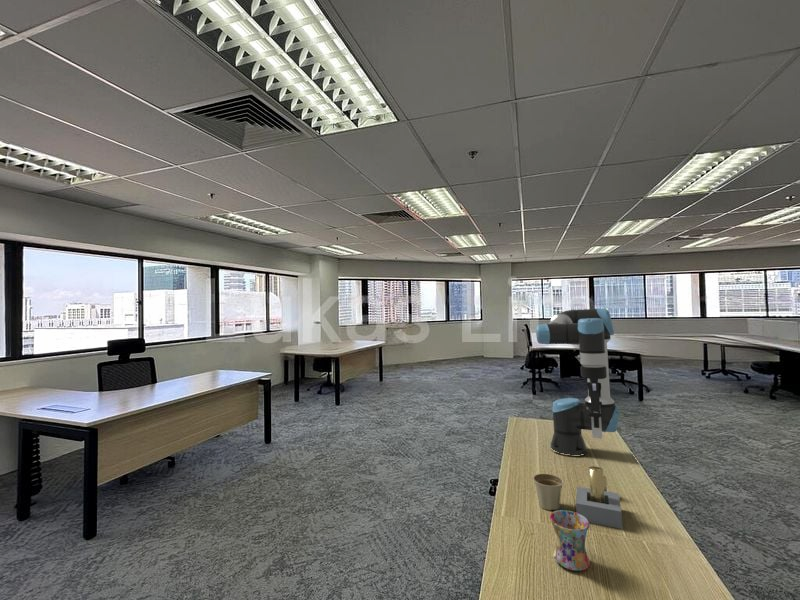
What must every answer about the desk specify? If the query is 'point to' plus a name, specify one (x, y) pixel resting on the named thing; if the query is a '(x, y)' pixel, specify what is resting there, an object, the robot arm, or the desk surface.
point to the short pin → (605, 483)
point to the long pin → (596, 484)
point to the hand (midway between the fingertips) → (597, 430)
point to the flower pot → (548, 490)
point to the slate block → (599, 508)
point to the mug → (570, 539)
